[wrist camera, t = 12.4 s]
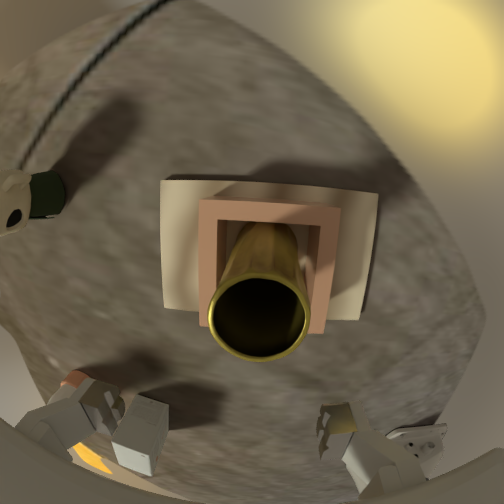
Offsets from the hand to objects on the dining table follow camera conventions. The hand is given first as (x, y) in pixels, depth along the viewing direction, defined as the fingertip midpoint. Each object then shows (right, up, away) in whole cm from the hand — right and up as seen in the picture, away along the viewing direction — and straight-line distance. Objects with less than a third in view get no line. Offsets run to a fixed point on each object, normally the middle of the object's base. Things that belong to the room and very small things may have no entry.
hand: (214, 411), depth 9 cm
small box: (-14, -20, +27) cm, 37 cm away
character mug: (-25, +14, +19) cm, 34 cm away
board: (+3, +6, +19) cm, 20 cm away
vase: (+3, +7, +18) cm, 19 cm away
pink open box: (+3, +6, +18) cm, 19 cm away
